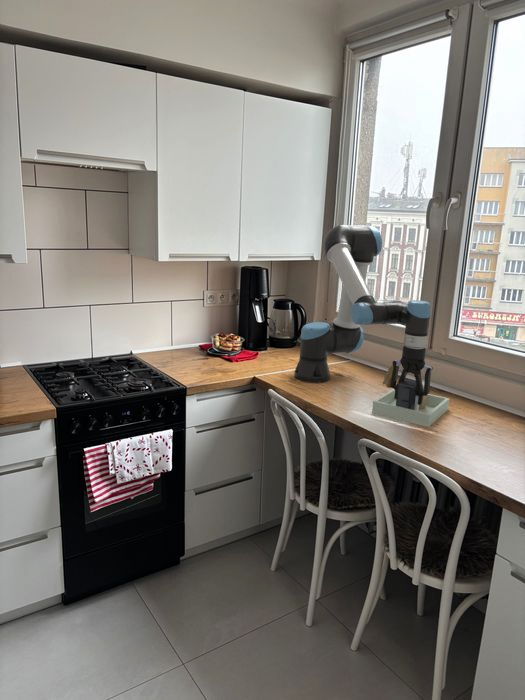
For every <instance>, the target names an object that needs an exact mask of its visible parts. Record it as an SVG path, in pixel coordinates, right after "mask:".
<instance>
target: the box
mask: <svg viewBox="0 0 525 700" xmlns="http://www.w3.org/2000/svg"><path fill="white" fill-rule="evenodd" d="M397 383H398V382H397ZM416 395H418V391H417V385H416V379H412V378H411V379H410V378H407V379H405V380H404V381H403V382H401V383H398V390H397V399H396V406H399V407H403V408H407V409H411V410H414V407H415V399H416Z"/></svg>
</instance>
